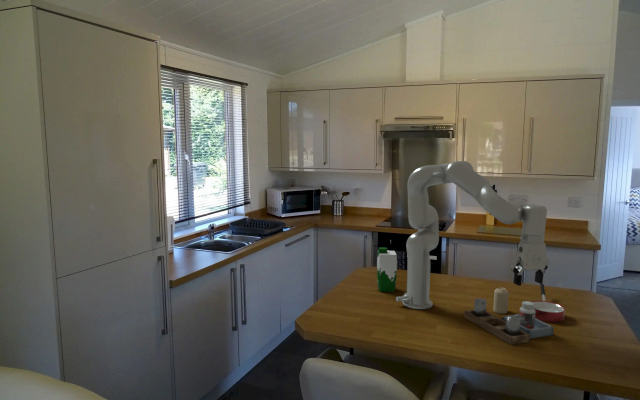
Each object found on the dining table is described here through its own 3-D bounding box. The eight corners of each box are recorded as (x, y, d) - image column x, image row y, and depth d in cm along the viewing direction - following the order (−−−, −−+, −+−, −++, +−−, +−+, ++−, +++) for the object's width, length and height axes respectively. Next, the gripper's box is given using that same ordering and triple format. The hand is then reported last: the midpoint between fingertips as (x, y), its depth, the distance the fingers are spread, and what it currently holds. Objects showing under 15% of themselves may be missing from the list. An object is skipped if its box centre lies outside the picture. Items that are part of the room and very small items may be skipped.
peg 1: (478, 322, 175) (479, 302, 174) (471, 318, 179) (472, 298, 178) (487, 321, 176) (489, 301, 175) (480, 317, 180) (481, 297, 179)
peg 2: (511, 342, 158) (512, 320, 157) (502, 336, 162) (503, 315, 161) (521, 340, 159) (522, 318, 158) (512, 335, 163) (513, 314, 162)
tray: (528, 338, 160) (529, 330, 160) (501, 323, 174) (502, 316, 173) (553, 335, 164) (553, 327, 163) (524, 320, 177) (525, 313, 177)
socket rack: (510, 344, 156) (511, 338, 155) (464, 316, 180) (464, 310, 180) (529, 341, 158) (530, 335, 158) (481, 314, 183) (481, 308, 182)
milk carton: (375, 286, 218) (376, 245, 215) (394, 286, 218) (395, 246, 215) (377, 292, 209) (378, 250, 207) (397, 292, 209) (398, 250, 206)
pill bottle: (516, 328, 168) (518, 303, 167) (521, 323, 172) (522, 299, 171) (531, 332, 165) (533, 306, 164) (536, 327, 169) (538, 302, 168)
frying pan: (519, 294, 208) (520, 281, 207) (550, 297, 204) (551, 284, 203) (530, 320, 177) (531, 305, 176) (567, 324, 173) (568, 309, 173)
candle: (508, 314, 183) (510, 290, 182) (494, 313, 185) (495, 289, 183) (506, 309, 189) (507, 286, 188) (492, 308, 190) (493, 285, 189)
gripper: (520, 242, 158) (516, 288, 161) (559, 239, 163) (554, 285, 166) (505, 237, 165) (501, 282, 168) (543, 235, 171) (538, 278, 173)
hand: (527, 283), depth 167 cm, fingers open, 9 cm apart
